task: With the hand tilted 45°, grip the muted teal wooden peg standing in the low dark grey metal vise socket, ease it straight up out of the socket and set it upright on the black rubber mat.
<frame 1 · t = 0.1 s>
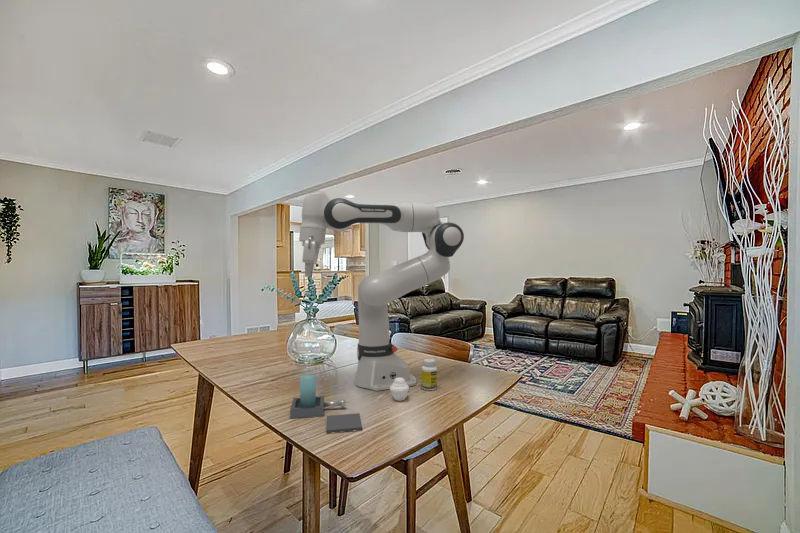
hand: (308, 276, 125), 39 cm above the table, tool pointing down, fingers open, 8 cm apart
supplement bottle: (429, 389, 123), on the table
muffin: (399, 399, 113), on the table
rubber mat: (343, 424, 94), on the table
teal peg: (307, 411, 103), resting in vise socket
vise socket: (307, 410, 103), on the table
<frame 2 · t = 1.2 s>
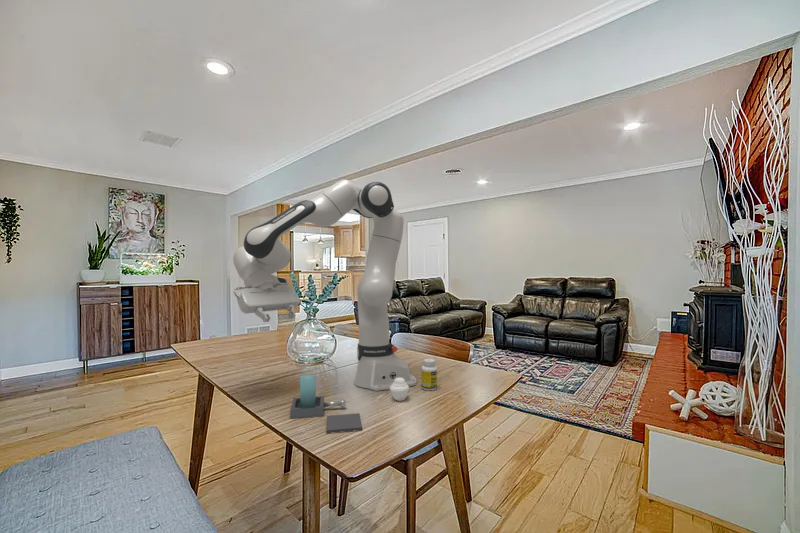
hand: (280, 319, 110), 26 cm above the table, tool tilted 45°, fingers open, 8 cm apart
nothing on the table moved.
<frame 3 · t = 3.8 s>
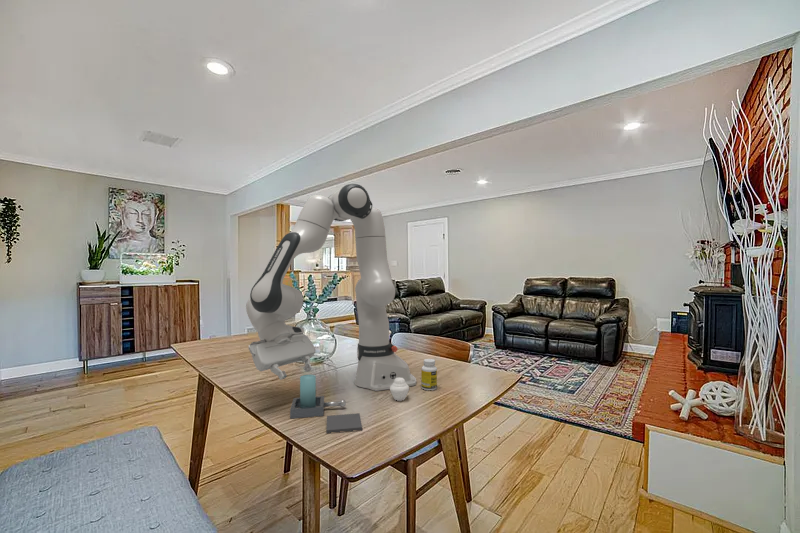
hand: (296, 374, 106), 10 cm above the table, tool tilted 45°, fingers open, 8 cm apart
nothing on the table moved.
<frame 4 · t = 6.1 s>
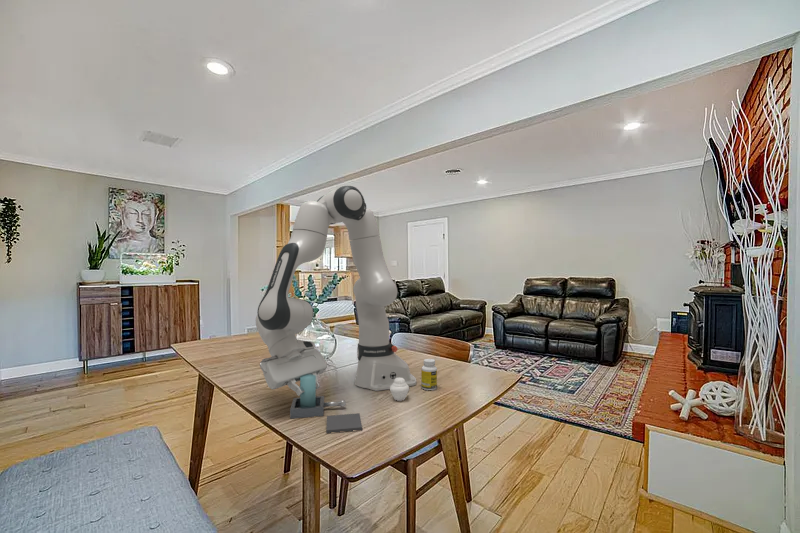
hand: (309, 391, 103), 6 cm above the table, tool tilted 45°, fingers closed on teal peg, 4 cm apart
teal peg: (307, 411, 103), resting in vise socket, touching gripper
everything else where it was.
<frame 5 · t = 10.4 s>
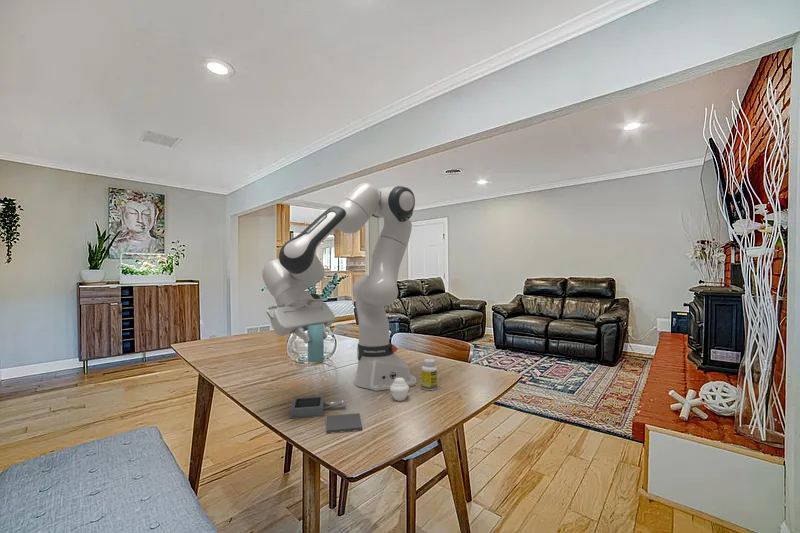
hand: (317, 340, 101), 21 cm above the table, tool tilted 45°, fingers closed on teal peg, 4 cm apart
teal peg: (315, 360, 101), point 15 cm above the table, touching gripper
everything else where it was.
when the fingers open (8 cm above the table, at t = 14.6 s): teal peg stays where it is, resting on rubber mat.
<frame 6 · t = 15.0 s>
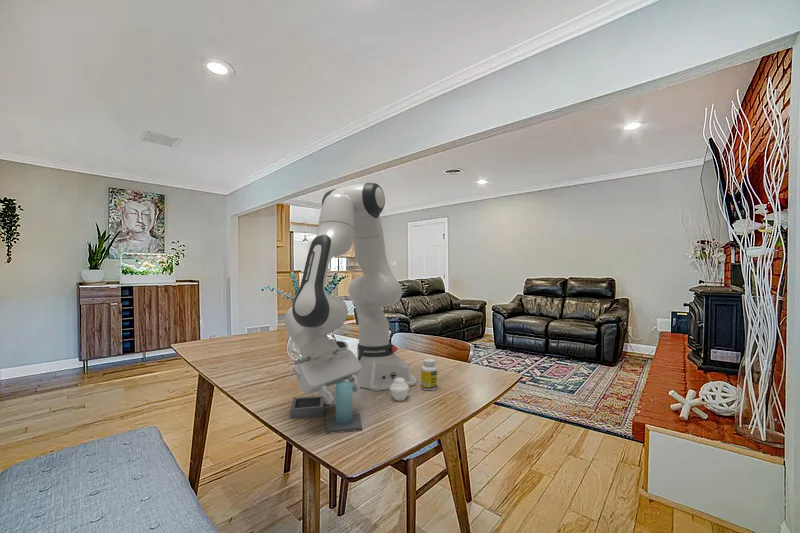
hand: (345, 396, 94), 8 cm above the table, tool tilted 45°, fingers open, 8 cm apart
teal peg: (344, 421, 95), point 1 cm above the table, touching rubber mat
everything else where it was.
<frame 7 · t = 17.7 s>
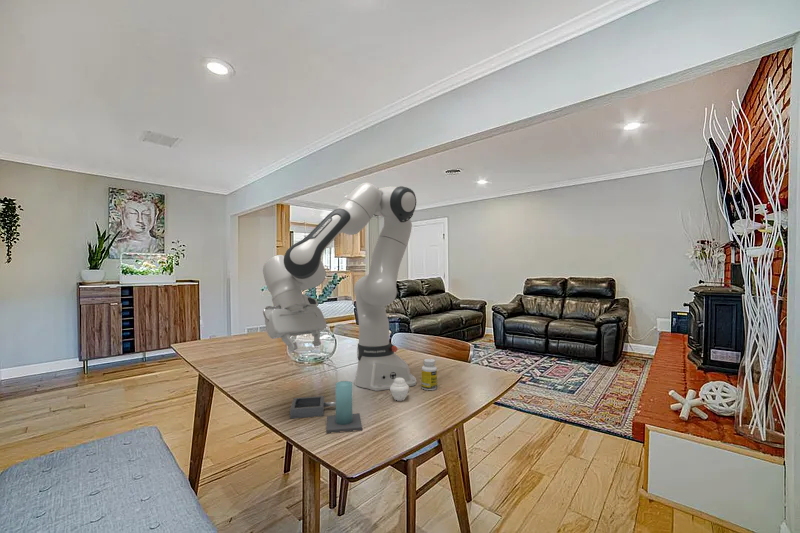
hand: (306, 347, 102), 19 cm above the table, tool tilted 30°, fingers open, 8 cm apart
nothing on the table moved.
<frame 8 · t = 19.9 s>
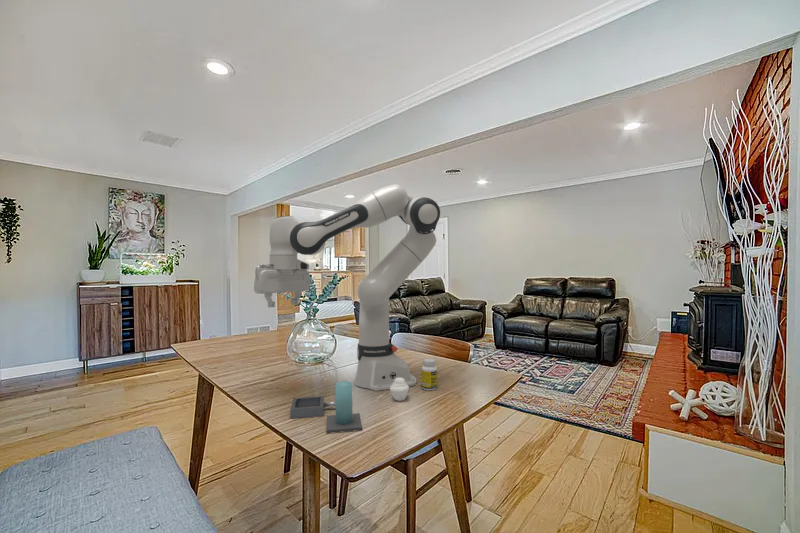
hand: (283, 305, 118), 29 cm above the table, tool pointing down, fingers open, 8 cm apart
nothing on the table moved.
at the end: teal peg inside the target area on the rubber mat (0.1 cm from its centre), point 0.8 cm above the rubber mat's base; teal peg tilted 0°; the gripper is holding nothing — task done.
